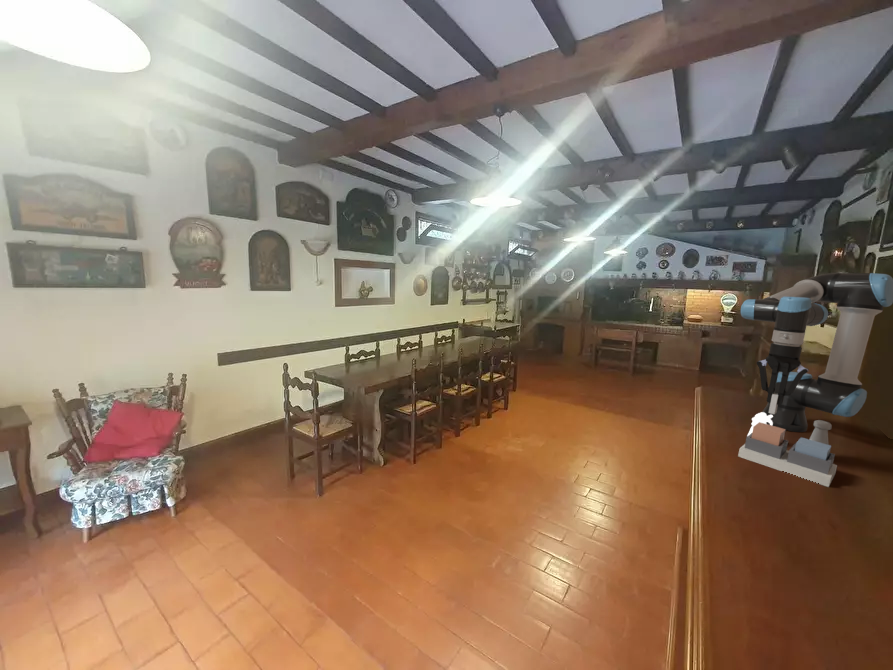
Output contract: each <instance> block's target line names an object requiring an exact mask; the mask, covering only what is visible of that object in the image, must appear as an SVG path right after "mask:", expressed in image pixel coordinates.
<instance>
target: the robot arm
mask: <svg viewBox="0 0 893 670" xmlns="http://www.w3.org/2000/svg"><path fill="white" fill-rule="evenodd" d="M819 303H829V304H837V305H836V310H838V311H839V312H840V315H839V319H838V322H837V326H836V330H835V333H834V334H835V335H834V337H833V342H832V345H831V349H830V351H829V352H830V353H829V357H828V361H827V364H826V367H825V372H824V373H822V374H820V375H818V376H817V377H818V378H817V379H815V378H814V379H813V375H812V374H810V373H808V372H809V371H810V369H809V368H807V367H804V366H803V365H802V362H801V360H800V358H801V353H802V349H803V347H802V345H803V344H804V339H805V336H806V331H807V327H814V326H818V325H821V324H823V323H824V322H825V321H827V319H828V316H829V311H828V308H826V306H824V305H823V304H819ZM892 305H893V277H892V276H891V275H889V274H887V273H876V272H869V273H868V272H867V273H866V272H862V273H861V272H860V273H859V272H853V273H852V272H850V273H849V272H828V273H823V274H819V275H815V276H811V277H807V278H805V279H802V280H800V281H798V282H796V283H795V284H794V285H793V286H792V287H790V288H786V289H784V290H781V291H779V292H777V293H774V294H772V295H770V296H767V297H765V298H762V299H756V298H754V299H750V298H748V299H745V300H744V301H743V303H742V304H741V307H740V316H741V318H743V319H746V320H750V321H758V322H759V321H760V322H768V323H774V327H773V332H772V337H771V341H772V342H771V343H770V345H769V346H770V347H769V352H768V355H767V357H766V356H765V357H766V358H765V359H762V360H758V361H756V365H757V367H758V369H759V376H760V385H761V390H762V391H765V392H767V397H766V402H767V404H766V406H765V407H764V409H762V411H761V412H764V413H766V415H767V416H768V415H773V417H772V418H771V420H772V422H773V425H772V426H775V427H779V428H783V429H786V430H785V431H787V430H788V432H795V433H804V432H807V431H808V421H807V417H806V412H805V411H806V408H810V409H813V410H817V411H820V412H825V413H829V414H832V415H833V416H838V417H839V416H840V417H845V418H851V417H853V416H855V415H856V414H858V412H860V410H861V409H862V408H863V406H864V404H865V403H866V400H867V395H868V392H867V390H866V389H864V388H862V386H863V383H862V382H861V381H860V380H859V378H858V377H859V374H860V370H861V367H862V363H863V359H864V357H865V352H866V348H867V345H868V341H869V337H870V335H871V331H872V328H873V323H874V320H875V316H877V315H878V314H880V313H882V312H883V310H884V308H887V307H890V306H892ZM767 364H768V366H769V368H770V369H771V377H770V381H769V383H768V375H767V367H766V366H767ZM796 369H797V371H794V370H796ZM766 424H768V425H770V423H769V422H766Z"/></svg>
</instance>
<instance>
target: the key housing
mask: <svg viewBox="0 0 893 670" xmlns="http://www.w3.org/2000/svg"><path fill="white" fill-rule="evenodd" d="M751 437H752V433H751V434H750V435H749V436H747V435H746V438H745V443H744V444H743V445H742V446H740V448H739V449H738V450H739V451H738V454H737V457H739V458H742V459H745V460H747V461H750V462H753V463H757V464H759V465H762V466H765V467H769V468H771V469H774V470H777V471H780V472H782V471H784V472H783V473H785V472H787V473H786V474H788V473H790V474H789V475H791V474H793V475H792V476H794V475H796V476H795V477H797V476H798V478H800V477H801V479H803V478H804V479H803V480H806V479H807V481H809V480H810V482H812V481H813V482H812V483H815V482H816V483H815V484H818V483H819V484H818V485H821V486H824V487H827V488H830V485H831V483H832V481H833V479H834V478H835V475H836V472H837V469H838V468H837V467H838V465H837V464H835V463H834V460H835V457H836V453H831V452H830V454H829V458H828V461H827V460H823V459H820V458H817V457H813V456H810V455H807V454H803V453H800V452H797V451H795V447H796V443H797V442H795V443H794V444H793V445H792V446H791V448H789V450H788V445H789V444H788V443H789V440H788V439H784V440H783V443H782V444H781V445H780V446H777V445H773V444H770V443H767V442H763V441H760V440H757V439H753V438H751Z"/></svg>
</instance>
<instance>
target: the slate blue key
mask: <svg viewBox="0 0 893 670" xmlns="http://www.w3.org/2000/svg"><path fill="white" fill-rule="evenodd" d="M809 439H810V438H809ZM809 439H808V438H805V437H802V436H801V437H800V438H798V441H796V442H795V443H796V447H795V451H797V452H800V453H803V454H807V455H810V456H813V457H817V458H820V459H823V460H827V461H828V458H829V454H830V453H831V450H832V449H831V448H832V445H831V444H828V445H827V444H823V443H820V442H816V441H813V440H809Z"/></svg>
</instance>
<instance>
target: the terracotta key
mask: <svg viewBox="0 0 893 670" xmlns="http://www.w3.org/2000/svg"><path fill="white" fill-rule="evenodd" d="M786 431H787V430H786V429H783V428H779V427H775V426H772V425H768V424H764V423H760V422H759V423H758V424H756V425H755V426H754V427H753V432H752V437H751V438H753V439H757V440H760V441H763V442H767V443H770V444H773V445H777V446H780V445H781V444H782V443H783V440H785V439H784V438H785V435H786V434H785V433H786Z"/></svg>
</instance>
